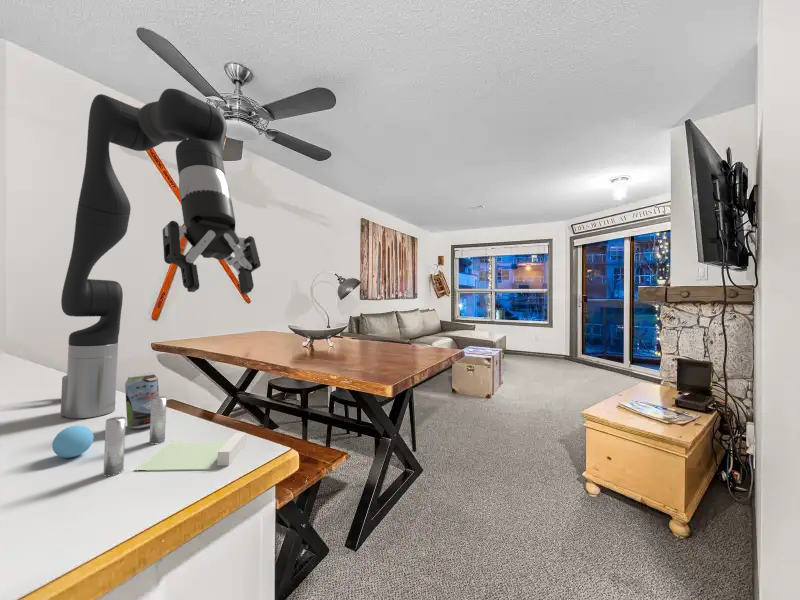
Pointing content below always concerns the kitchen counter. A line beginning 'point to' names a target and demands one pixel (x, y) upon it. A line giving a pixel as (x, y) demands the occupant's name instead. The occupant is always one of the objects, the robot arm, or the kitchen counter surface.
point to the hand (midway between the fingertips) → (221, 291)
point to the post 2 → (158, 419)
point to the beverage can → (140, 399)
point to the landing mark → (183, 457)
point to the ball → (72, 441)
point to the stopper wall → (231, 449)
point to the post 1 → (114, 445)
